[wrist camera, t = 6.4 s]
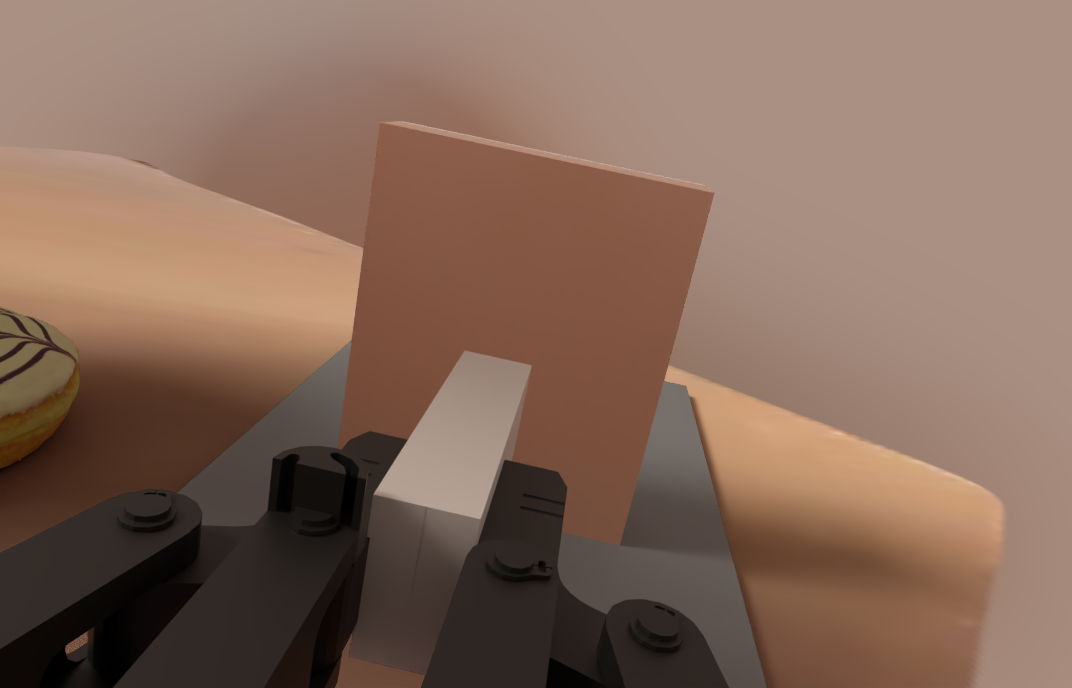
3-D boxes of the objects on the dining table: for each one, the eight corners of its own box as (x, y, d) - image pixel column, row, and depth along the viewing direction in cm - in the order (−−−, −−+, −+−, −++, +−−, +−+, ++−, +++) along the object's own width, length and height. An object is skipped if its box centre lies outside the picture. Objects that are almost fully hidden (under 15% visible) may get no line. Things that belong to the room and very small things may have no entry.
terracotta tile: (333, 480, 26) (380, 122, 22) (356, 449, 28) (402, 121, 25) (619, 545, 26) (714, 192, 22) (619, 509, 28) (704, 185, 24)
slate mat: (116, 563, 21) (117, 545, 21) (375, 327, 44) (377, 317, 44) (763, 714, 20) (769, 697, 20) (683, 395, 43) (686, 386, 43)
